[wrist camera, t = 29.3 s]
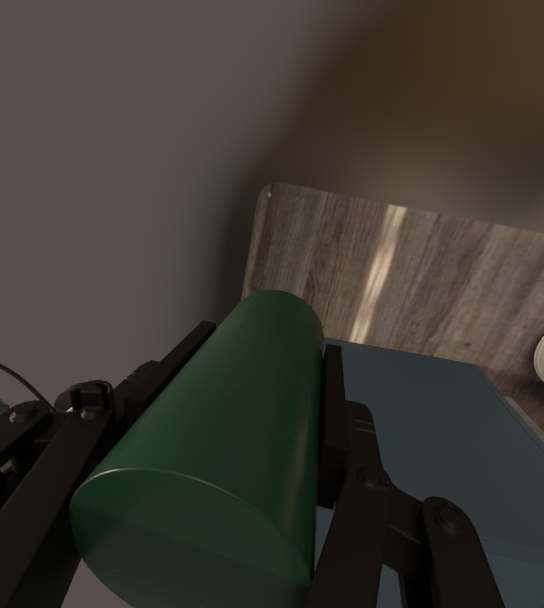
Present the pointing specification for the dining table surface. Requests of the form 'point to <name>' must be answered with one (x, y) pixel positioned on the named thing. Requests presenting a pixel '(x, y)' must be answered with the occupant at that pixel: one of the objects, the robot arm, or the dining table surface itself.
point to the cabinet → (454, 459)
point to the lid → (539, 359)
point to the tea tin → (217, 472)
